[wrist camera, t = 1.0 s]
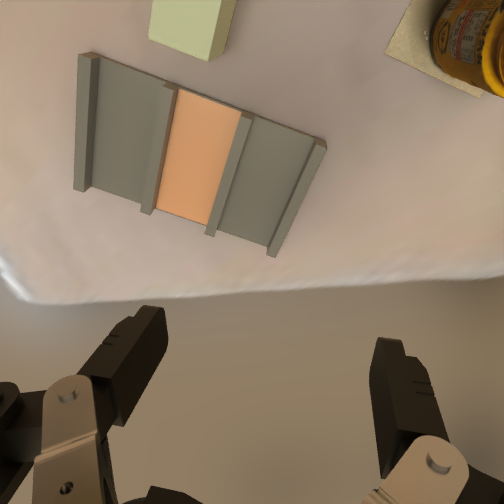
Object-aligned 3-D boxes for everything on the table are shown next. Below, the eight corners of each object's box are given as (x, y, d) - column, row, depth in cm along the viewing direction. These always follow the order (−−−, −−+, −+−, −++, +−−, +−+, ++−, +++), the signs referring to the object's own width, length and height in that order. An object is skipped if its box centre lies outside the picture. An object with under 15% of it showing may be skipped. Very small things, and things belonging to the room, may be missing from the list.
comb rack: (83, 180, 35) (73, 189, 34) (90, 52, 29) (78, 54, 27) (276, 247, 37) (275, 258, 36) (325, 141, 31) (327, 148, 29)
